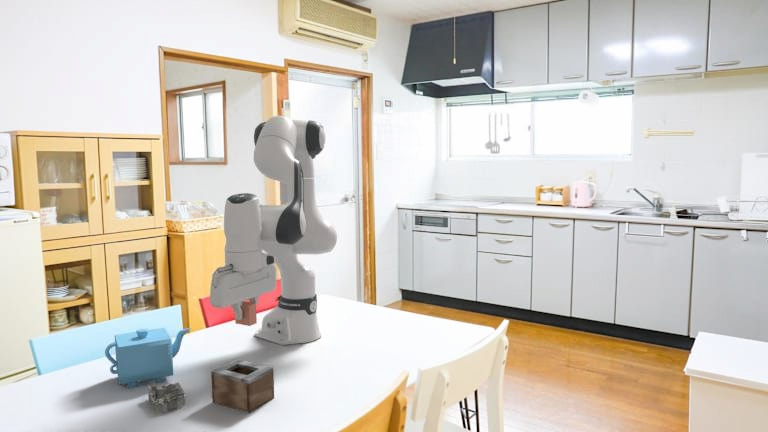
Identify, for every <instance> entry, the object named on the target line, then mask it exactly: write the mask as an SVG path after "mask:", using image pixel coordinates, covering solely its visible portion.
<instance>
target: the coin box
mask: <svg viewBox="0 0 768 432" xmlns="http://www.w3.org/2000/svg"><path fill="white" fill-rule="evenodd" d="M274 372H275V371H274V366H273V367H272V366H268V365H264V364H260V363H256V362H251V361H246V360H243V359H239V358H237V359H234V360H232V361H229V362H227V363H226V364H223V365H221V366H219V367H217V368H215V369H212V370H211V373H210V374H211V375H210V376H211V396H212V400H211V401H212V402H211V403H215V404H217V405H220V406H225V407H227V408H231V409H235V410H239V411H242V412H245V413H249V414H250V413H253V412H254V411H255V410H257V409H258V408H260V407H261V406H264V405H265V404H267V403H268V402H271V401H272V400H273V399H275V377H274V376H275V375H274Z"/></svg>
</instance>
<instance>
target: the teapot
mask: <svg viewBox="0 0 768 432" xmlns="http://www.w3.org/2000/svg"><path fill="white" fill-rule="evenodd" d="M191 329H192V327H189V328H188V327H187V328H183V329H181V330H179V331H178V332H177V334H176V337H175V338H174V339H175V340H174V341H173V340H172V337H171V336H170V334H169V331H167V328H166V327H159V328H154V329H153V328H152V329H149V328H139V329H137V330H136V331H133V332H127V333H121V334H114V341H113V342H110V343H109V344H108V345H107V347H106V348H105V350H104V354H105V357H106V359H107V360H108V361H110V363H111V366H110V367H109V371H110V373H111V374H113V375H117V378H118V382H119V383H118V384H119V386H122V385H123V386H125V385H127V386H126V387H127V388H128V389H133V388H134V387H135V388H137V387H139V383H140V382H144V381H145V382H146V381H148V380H149V381H150V380H153V382H154V383H157V384H160V383H164V382H165V381H166V378H165V377H170V376H174V361H173V359H174V358H175V357H176V356H177V355H178V353H179V351H180V348H181V344H182V342H183V341H182V340H183V338H184V336H185V334H186V333H188V332H189V331H191ZM113 347H115V348H114V349H115V359H114V357H112V355H111V354H110V350H111V349H112V348H113ZM114 368H116V369H114Z"/></svg>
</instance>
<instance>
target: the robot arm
mask: <svg viewBox="0 0 768 432" xmlns="http://www.w3.org/2000/svg"><path fill="white" fill-rule="evenodd" d="M253 142H254V143H253V144H254V150H253V163H254V165H255V167H256V168H257V170H258V171H259V172H260V174H262V175H264V176H265V177H266V178H268V179H270V180H274V181H277V182H279V194H280V196H279V197H280V198H279V200H280V203H281V204H280V205H275V204H273V205H271V204H269V205H268V204H267V205H266V204H265V205H264V204H263V205H262V204H260V201H259V197H258V195H256V194H253V193H248V192H245V193H244V192H243V193H236V194H233V195H230V196H228V197H227V198H226V200H225V204H224V205H225V206H224V211H223V213H224V214H223V234H224V237H225V246H224V266H219V267H217V268H216V269H215V271H213V273H212V277H211V282H210V292H209V303H210V305H211V306H212V307H213V308H217V309H224V308H227V307H231V308H232V310H233V311H234V317H235V318H236V319H237V320H241V319H243V318H245V311H242V310H241V308H240V306H242V301H244V302H246V301H247V300H248V301H249V302H251V303H256V306H257V305H258V303H259V300H260V299H259V296H262V295H265V294H268V293H271V292H273V291H275V290H276V287H277V269H278V271H279V274H280V275H279V276H280V282H281V283H280V284H281V285H280V286H281V294H280V295H279V296H276V297H275V298H274V302H278V303H277V305H276V306H275V307H274V308H273V309H271V310H270V311H269V312H268V313H266V314H265V315H264V317H263V318H262V322H261V327H260V328H258V329H257V330H255V332H254V337H257V338H260V339H263V340H266V341H269V342H271V343H275V344H278V345H281V346H285V345H287V346H288V345H291V344H305V343H310V342H313V341H317V340H318V339H320V337H321V336H322V334H321V331H320V327H319V321H318V315H317V309H318V306H317V305H318V296H317V293H316V273H315V271H314V270H313V269H312V267H311V266H309V265H308V264H305V263H303V262H302V261H301V260H300V259H299V258H298V255H323V254H329V253H331V252H332V251H333V250H334V248H335V246H336V245H337V241H338V234H337V230H336V229H335V227H334V226H333V224H331V222H330V221H328V220H326V218H325V217H324V216H323V215H322V213H321V212H320V210H319V207H318V205H317V203H316V202H317V201H316V193H315V190H316V189H315V168H314V160H313V159H315V158H316V156H317V155H319V154H320V153H322V152H323V150H324V147H325V144H326V133H325V130H324V127H323V125H322V124H321V123H320V122H318V121H316V120H311V119H309V120H302V119H301V120H299V119H290V118H289V117H287V116H284V115H274V116H271V117H269V119H267V120H266V121H264V122H261V123H259V124H258V125H257V126H255V129H254V133H253ZM275 265H276V266H275ZM276 267H277V268H276ZM235 318H234V319H235Z"/></svg>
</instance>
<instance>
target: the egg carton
mask: <svg viewBox="0 0 768 432" xmlns="http://www.w3.org/2000/svg"><path fill="white" fill-rule="evenodd" d="M147 387H148V388H147V389H148V390H149V392H148V394H147V398H148V402H149V403H151V407H154V408H155V412H156V413H167V412H168V410H170V409H177V410H178V409H181V408H183V406H185V405H186V397H185V395H186V392H185V390H184V388H182V386H181V384H180V382H178V381H177V382H173V383H168V384H166V385H165V384H163V385H162V386H161V387H160V388H158V387H157V385H150V384H147ZM160 398H161V399H160Z"/></svg>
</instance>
